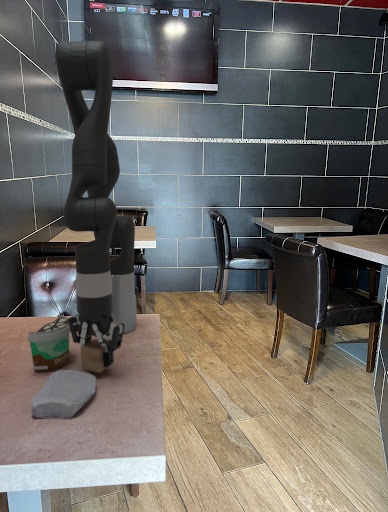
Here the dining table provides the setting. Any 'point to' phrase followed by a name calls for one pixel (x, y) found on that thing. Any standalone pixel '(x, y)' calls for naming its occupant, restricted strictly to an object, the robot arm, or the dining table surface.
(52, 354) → the food container
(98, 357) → the walnut block
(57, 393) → the stone block
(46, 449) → the dining table surface
